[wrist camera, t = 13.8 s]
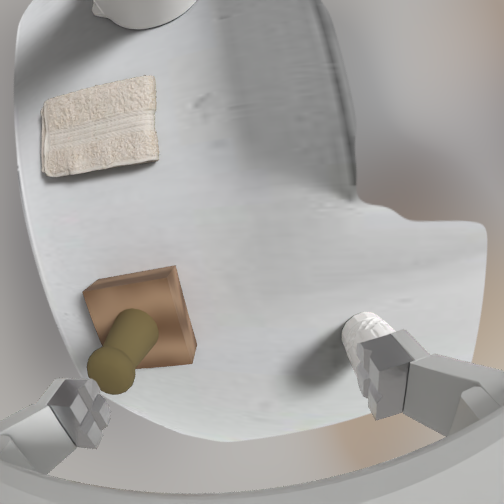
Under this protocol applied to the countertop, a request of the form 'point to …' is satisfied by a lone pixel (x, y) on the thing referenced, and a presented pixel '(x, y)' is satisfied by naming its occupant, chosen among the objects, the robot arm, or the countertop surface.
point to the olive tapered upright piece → (123, 351)
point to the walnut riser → (154, 304)
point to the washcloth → (100, 128)
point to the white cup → (362, 333)
